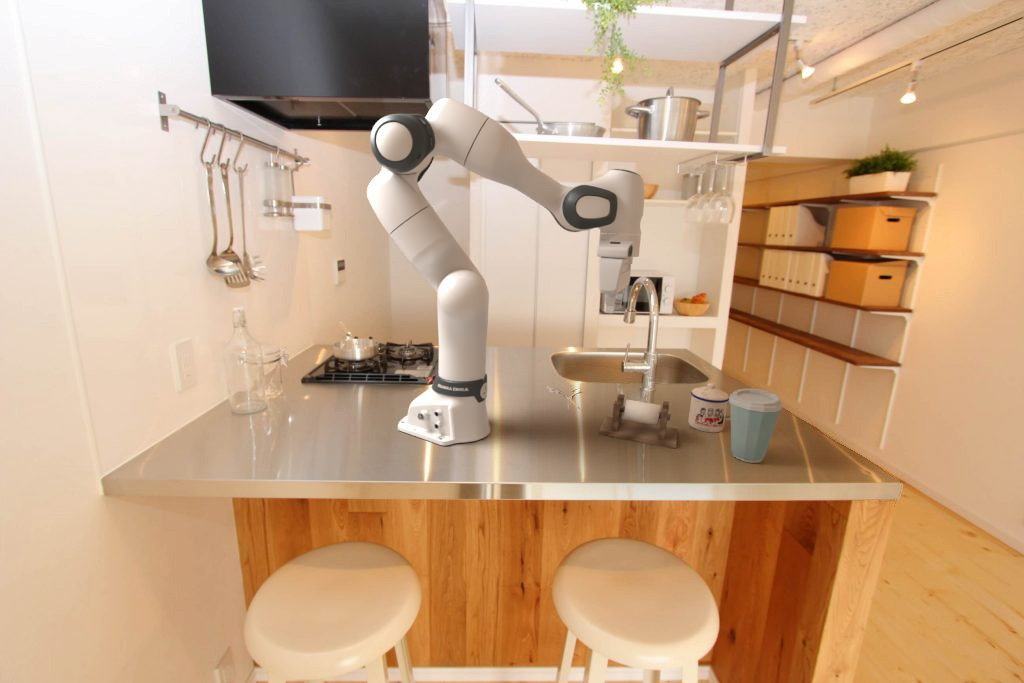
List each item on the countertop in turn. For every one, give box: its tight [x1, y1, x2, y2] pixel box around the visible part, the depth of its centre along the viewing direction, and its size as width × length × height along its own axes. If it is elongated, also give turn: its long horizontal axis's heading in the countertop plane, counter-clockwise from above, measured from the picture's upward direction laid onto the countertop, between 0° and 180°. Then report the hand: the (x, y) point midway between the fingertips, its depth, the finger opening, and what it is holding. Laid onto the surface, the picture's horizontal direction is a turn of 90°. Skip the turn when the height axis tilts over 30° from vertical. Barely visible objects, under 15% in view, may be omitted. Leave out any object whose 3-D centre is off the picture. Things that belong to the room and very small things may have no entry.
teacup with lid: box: [687, 382, 731, 433], centre depth 123 cm, size 12×9×12 cm
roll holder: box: [598, 393, 679, 449], centre depth 117 cm, size 18×10×8 cm, turn 69°
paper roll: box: [620, 399, 671, 426], centre depth 116 cm, size 13×5×5 cm
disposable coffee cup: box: [728, 388, 783, 464], centre depth 107 cm, size 11×11×15 cm
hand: (613, 309), depth 108 cm, fingers open, 8 cm apart
